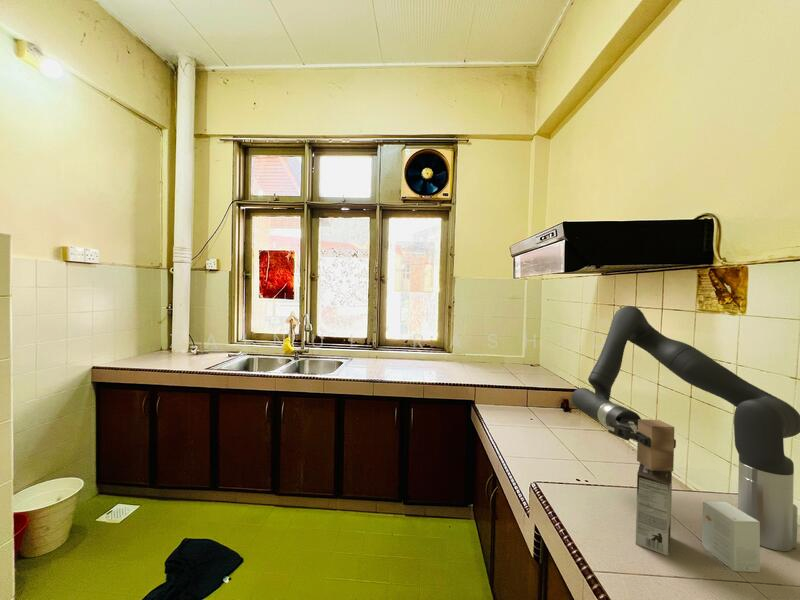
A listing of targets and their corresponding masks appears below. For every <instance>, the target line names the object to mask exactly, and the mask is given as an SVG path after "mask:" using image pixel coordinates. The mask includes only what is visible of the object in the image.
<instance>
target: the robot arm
mask: <svg viewBox="0 0 800 600" xmlns="http://www.w3.org/2000/svg"><path fill="white" fill-rule="evenodd" d="M628 341H629V342H630V343H631V344H633V345H635V346H637V347H638V348H641V349H642V350H644V351H645V352H647V353H648V354H650V355H651V357H653V358H654V359H655V360H656V361H658V362H659V363H660V364H661V365H663V366H664V367H665V368H666V369H668V370H669V371H670V372H672V373H673V374H674V375H676V376H677V377H678V378H680V379H682V381H684V382H686V383H688V384H689V385H691V386H693V387H695V388H698V389H700V390H702V391H705V392H706V393H709V394H711V395H714V396H716V397H718V398H721V399H723V400H724V401H726V402H728V403H730V404H731V405H732V406H734V407H736V408H735V409H734V414H733V431H734V432H733V434H734V447H735V449H736V451H737V454H738V485H737V487H738V488H737V509H739V510H741V511H742V512H744V513H746V514H747V515H749V516H751V517H752V518H754V519H756V520H757V521H759V522H760V547H761V546H762V547H763V548H767V549H771V550H775V551H780V552H789V551H792V550H793V549H794V548H798V509H799V508H798V506H797V505H796V504H795V503H794V474H795V466H794V465H795V464H794V462H793V460H792V459H791V458H790V457H788V456H786V455H785V449H784V448H785V447H784V446H785V444H784V442H785V441H784V439H786V438H792V437H794V436H797V435H799V434H800V413H799V412H798V410H797V409H795V407H793V406H792V405H791V404H790V403H789V402H786V401H785V400H782V399H781V398H779V397H777V396H775V395H773V394H771V393H769V392H767V391H765V390H763V389H761V388H759V387H758V386H756V385H753V384H752V383H750V382H748V381H747V380H745V379H743V378H742V377H740V376H738V375H737V374H736V373H734V372H732V370H729V369H728V368H726V367H725V366H723V365H722V364H720V363H719V362H717V361H716V360H714V359H712V358H711V357H710V356H708V355H707V354H705V353H704V352H702V351H700V350H699V349H697V348H696V347H694V346H692V345H690V344H688V343H686V342H684V341H679V340H676V339H671V338H669V337H667V336H665V335H664V334H662V333H661V332H659V331H658V330H657V329H655V328H654V327H653V326H652V325H651V324H650V323H649V321H648V319H647V318H646V316H645V314H644V313H643V311H642V310H641V309H640V308H638V307H636V306H631V305H628V306H627V305H626V306H623V307H620V308H619V309H618V310H617V311H616V312H615V314H614V315H613V318H612V320H611V323H610V327H609V330H608V333H607V336H606V339H605V342H604V344H603V348H602V349H601V352H600V355H599V357H598V358H597V360H596V363H595V364H594V365H593V368H592V370H591V372H590V374H589V376H588V379H587V380H588V383H589V384H590V385H591V387H592V388H593V389H594V391H592V390H590V389H588V388H586V387H579V388H576V389H575V390H574V391H573V392H572V394H571V402H572V405H573V407H575V408H577V409H578V410H580V411H581V412H582V413H584V414H585V415H587V416H588V417H590V418H592V419H594V420H596V421H597V422H598V423H600V424H602V425H603V427H605V428H606V429H607V431H608V432H607V433H609V434H612V435H613V436H615V437H618V438H621V439H622V440H624V441H630V440H632V441H633V442H636V443H637V442H639V443H641V444H643V445H644V446H646V447H651V439H650V438H649V437H648V436H646V435H644V434H642V433H641V432H639V431H638V419H642V418H641V417H640V415H639V414H638V413H637V412H635V411H633V410H631V409H629V408H627V407H625V406H623V405H621V404H617V403H614V402H612V401H610V399H611V392H612V389H613V388H612V387H613V386H614V383H615V382H616V379H617V378H618V376H619V373H620V370H621V367H622V364H623V358H624V353H625V349H626V345H627V343H628ZM676 446H677V440H676V439H675V438H674V449H676Z"/></svg>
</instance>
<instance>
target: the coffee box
mask: <svg viewBox="0 0 800 600" xmlns="http://www.w3.org/2000/svg"><path fill="white" fill-rule="evenodd" d="M672 472H673V471H657V470H650V469H648V468H647V467H646V466H644V465H643V464H641V463H640V462H639V466H638V470H637V475H636V476H637V479H636V482H637V483H636V512H635V515H636V516H635V544H636V545H638V546H641V547H643V548H646V549H648V550H651V551H653V552H656V553H659V554H660V555H664V556H667V557H668V556H670V547H671V545H670V544H671V534H672V533H671V529H672V528H671V527H672V490H673V489H672V487H673V486H672V485H673V483H672V482H673V481H672V480H673V476H672V474H673V473H672Z"/></svg>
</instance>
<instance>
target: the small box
mask: <svg viewBox="0 0 800 600" xmlns="http://www.w3.org/2000/svg"><path fill="white" fill-rule="evenodd" d="M701 514H702V522H701V523H702V527H701V530H702V533H701V534H702V537H701V538H702V543H701V544H702V545H701V546H702V547H703V548H704V549H705V550H706V551H707V552H709V553H710V554H712V556H714V557H715V558H716V559H717V560H719V561H720V562H721V563H722V564H724V565H725V566H726V567H727V568H729V569H730V570H731V571H733V572H741V573H742V572H744V573H745V572H746V573H747V572H748V573H760V572H761V548H760V547H761V545H760V522H759V521H757V520H756V519H754V518H752V517H751V516H749V515H747V514H746V513H744V512H742V511H741V510H739V509H738V507H736V506H734V505H733V504H730V503H729V502H727V501H717V500H716V501H715V500H714V501H712V500H710V501H709V500H703V501H702V513H701Z"/></svg>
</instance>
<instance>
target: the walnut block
mask: <svg viewBox="0 0 800 600" xmlns="http://www.w3.org/2000/svg"><path fill="white" fill-rule="evenodd" d="M638 431H639V432H641V433H642V434H644V435H646V436H648V437H649V438H650V439H651V447H646V446H644V445H643V444H641V443H639V442H636V443H637V447H636V449H637V451H636V452H637V453H636V454H637V455H636V461H637V462H638V463H639V464H640V463H641V464H643V465H644V466H646V467H647V468H648V469H650V470H657V471H672V472H674V462H675V461H674V460H675V459H674V458H675V457H674V456H675V453H674V452H675V448H674V439H675V426H672V425H670V424H669V423H666V422H665V421H662V420H660V419H645V418H641V419H638Z"/></svg>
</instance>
